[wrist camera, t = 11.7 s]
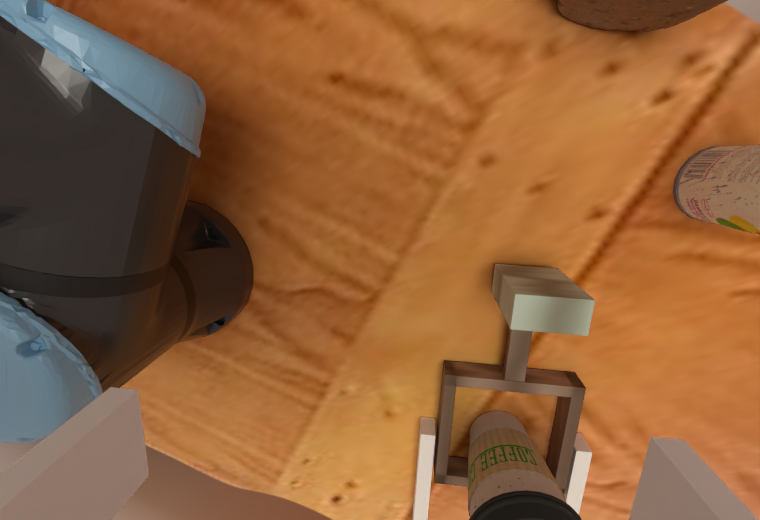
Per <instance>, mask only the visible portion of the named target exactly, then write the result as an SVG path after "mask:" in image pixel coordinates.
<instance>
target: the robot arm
mask: <svg viewBox="0 0 760 520" xmlns="http://www.w3.org/2000/svg"><path fill="white" fill-rule="evenodd" d="M205 113H206V101H205V97H204V94H203V92H202V90H201V88H200V87H199V85H198V84H197V83H196V82H195V81H194V80H193V79H192V78H191V77H189V76H188V75H186V74H185V73H183V72H181V71H180V70H178V69H176V68H174V67H173V66H171V65H169V64H167V63H165V62H164V61H162V60H160V59H158V58H156V57H154V56H152V55H150V54H149V53H147V52H145V51H143V50H141V49H139V48H137V47H135V46H133V45H132V44H130V43H128V42H126V41H124V40H122V39H120V38H118V37H116V36H114V35H112V34H111V33H109V32H107V31H105V30H103V29H101V28H99V27H97V26H95V25H93V24H91V23H89V22H87V21H85V20H83V19H81V18H79V17H77V16H75V15H73V14H71V13H69V12H67V11H65V10H63V9H61V8H59V7H56V6H55V5H53V4H51V3H50V2H48V1H45V0H0V442H3V443H27V442H33V441H37V440H39V439H44V438H45V439H44V440H43V441H41V442H40V443H39V444H37V445H36V446H35V447H33V448H32V449H31V450H30V451H28V452H27V453H26V454H25V455H23V456H22V457H21V458H19V459H18V460H17V461H15V462H14V463H13V464H12V465H10V466H9V467H8V468H7V469H5V470H4V471H3V472H1V473H0V520H112V519H113V518H114V517H115V516H116V515H117V513H118V512H119V511H120V510H121V508H122V507H123V506H124V505H125V504H126V502H127V501H128V500H129V499H130V497H131V496H132V495H133V494H134V493H135V491H136V490H137V489H138V488H139V486H140V485H141V484H142V483H143V481H144V480H145V479H146V478H147V477H148V475H149V470H148V463H147V455H146V447H145V440H144V432H143V424H142V417H141V409H140V401H139V393H138V390H136V389H125V388H120V387H121V386H123V385H124V384H125V383H126V382H128V381H129V380H130V379H131V378H133V377H134V376H135V375H137V374H138V373H139V372H140V371H142V370H143V369H144V368H145V367H147V366H148V365H149V364H151V363H152V362H153V361H154V360H156V359H157V358H158V357H159V356H161V355H162V354H163V353H165V352H166V351H167V350H168V349H170V348H171V347H172V346H173V345H175V344H176V343H180V342H184V341H188V340H192V339H196V338H200V337H204V336H207V335H210V334H212V333H215V332H216V331H218V330H220V329H222V328H223V327H224V326H226V325H227V324H228V323H229V322H230V321H232V320H233V319H234V318H235V317H236V316H237V315H238V314H239V313H240V312H241V311H242V309H243V308H244V306H245V305H246V303H247V301H248V299H249V296H250V293H251V289H252V284H253V267H252V261H251V257H250V254H249V251H248V248H247V246H246V244H245V242H244V240H243V239H242V237H241V235H240V234H239V233H238V231H237V230H236V229H235V227H234V226H233V225H232V224H231V223H230V222H229V221H228V220H227V219H226V218H225V217H223V216H222V215H221V214H219V213H218V212H216V211H215V210H213V209H211V208H209V207H207V206H205V205H203V204H200V203H197V202H193V201H188V200H187V196H188V192H189V188H190V184H191V180H192V176H193V173H194V169H195V165H196V161H197V157H198V158H200V155H201V150H200V148H199V144H200V139H201V133H202V128H203V123H204V118H205ZM629 520H758V519H757V518H756V517H755V516H754V514H753V513H752V512H751V511H750V510H749V509H748V508H747V507H746V506H745V505H744V504H743V503H742V502H741V501H740V499H739V498H738V497H737V496H736V495H735V494H734V493H733V492H732V491H731V490H730V489H729V488H728V487H727V485H726V484H725V483H724V482H723V481H722V480H721V479H720V478H719V477H718V476H717V475H716V474H715V473H714V472H713V470H712V469H711V468H710V467H709V466H708V465H707V464H706V463H705V462H704V461H703V460H702V459H701V458H700V457H699V455H698V454H697V453H696V452H695V451H694V450H693V449H692V448H691V447H690V446H689V445H688V444H687V443H686V441H685V440H680V439H670V438H659V437H651V439H650V443H649V447H648V451H647V454H646V458H645V462H644V466H643V469H642V473H641V477H640V481H639V484H638V488H637V492H636V496H635V499H634V503H633V507H632V511H631V514H630V518H629Z"/></svg>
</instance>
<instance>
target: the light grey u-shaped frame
mask: <svg viewBox="0 0 760 520" xmlns="http://www.w3.org/2000/svg"><path fill="white" fill-rule="evenodd" d="M434 446H435V418H427V417H421V420H420V431H419V443H418V455H417V467H416V478H415V490H414V502H413V514H412V520H427V517H428V507H429V497H430V487H431V476H432V466H433V456H434ZM591 456H592V451H591V449H590V448H589V446H588V444H587V442H586V441H585V439H584V437H583V435H582V434H581V433H577V434H576V439H575V444H574V449H573V454H572V458H571V463H570V468H569V473H568V478H567V483H566V488H565V493H564V496H565V499H566V502H567V504H568V505H570V506H571V507H572V508H573V509H574V510H575V511H576V512H577V513H578V514H579V511H580V506H581V502H582V497H583V493H584V488H585V484H586V479H587V475H588V470H589V465H590V461H591Z"/></svg>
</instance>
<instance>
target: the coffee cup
mask: <svg viewBox="0 0 760 520" xmlns="http://www.w3.org/2000/svg"><path fill="white" fill-rule="evenodd" d="M468 510H469V516H470V519H469V520H581V518H580V516H579V514H578V513H577V512H576V511H575V510H574V509H573V508H572V507H571V506H570V505H568V504H567V502H566V499H565V496H564V494H563V492H562V490H561V489H560V487H559V485H558V484H557V482H556V480H555V478H554V477H553V475H552V473H551V471H550V470H549V468H548V466H547V464H546V463H545V461H544V459H543V458H542V456H541V454H540V452H539V451H538V449H537V447H536V445H535V444H534V442H533V441H532V440H531V439H530V437H529V435H528V434H527V432H526V430H525V428H524V427H523V425H522V423H521V421H520V420H519V419H518V418H517V417H515V416H514V415H512V414H510V413H508V412H504V411H490V412H486V413H484V414H482V415H480V416H479V417H478V418H477V419H476V420H475V421H474V422H473V424H472V425H471V428H470V450H469V456H468Z"/></svg>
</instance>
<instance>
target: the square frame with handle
mask: <svg viewBox="0 0 760 520" xmlns="http://www.w3.org/2000/svg"><path fill="white" fill-rule="evenodd" d="M492 294H493V296H494V298H495V300H496V302H497V304H498V306H499V308H500V310H501V312H502V314H503V316H504V318H505V320H506V322H507V324H508V326H509V333H508V340H507V347H506V354H505V361H504V366H498V365H487V364H476V363H465V362H454V361H444V364H443V374H442V385H441V395H440V405H439V415H438V425H437V436H436V446H435V456H434V481H435V483H440V484H449V485H457V486H466V487H468V458H460V457H451V456H448V455H449V446H450V437H451V428H452V419H453V409H454V400H455V391H456V386H458V387H468V388H479V389H489V390H499V391H510V392H520V393H530V394H541V395H551V396H559V398H558V403H557V409H556V414H555V419H554V425H553V430H552V436H551V441H550V446H549V452H548V457H547V463H546V464H547V466H548V468H549V470H550V471H551V473H552V475H553V477H554V478H555V480H556V482H557V484H558V485H559V487H560V489H561V490H562V492H563V494H564V493H565V488H566V483H567V478H568V473H569V468H570V463H571V458H572V454H573V449H574V444H575V439H576V434H577V429H578V424H579V419H580V414H581V409H582V405H583V400H584V395H585V390H586V388H585V386H584V385H583V383H582V382H581V381H580V379H579V378H578V376H577V375H576V373H574V372H564V371H553V370H542V369H531V368H527V363H528V356H529V350H530V344H531V337H532V331H536V332H548V333H560V334H572V335H584V336H588V333H589V328H590V323H591V318H592V313H593V308H594V303H595V300H594V299H593V298H592V297H591V296H590V295H588V294H587V293H586V292H585V291H584V290H582V289H581V288H580V287H579V286H578V285H577V284H575V283H574V282H573V281H572V280H571V279H569V278H568V277H567V276H566V275H565V274H564V273H562V272H561V271H560V270H559V269H558V268H549V267H534V266H520V265H506V264H495V269H494V277H493V285H492Z"/></svg>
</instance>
